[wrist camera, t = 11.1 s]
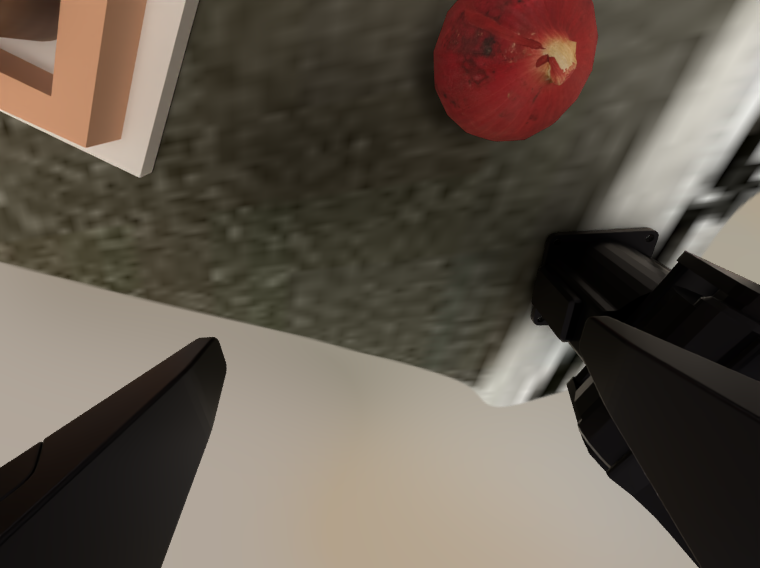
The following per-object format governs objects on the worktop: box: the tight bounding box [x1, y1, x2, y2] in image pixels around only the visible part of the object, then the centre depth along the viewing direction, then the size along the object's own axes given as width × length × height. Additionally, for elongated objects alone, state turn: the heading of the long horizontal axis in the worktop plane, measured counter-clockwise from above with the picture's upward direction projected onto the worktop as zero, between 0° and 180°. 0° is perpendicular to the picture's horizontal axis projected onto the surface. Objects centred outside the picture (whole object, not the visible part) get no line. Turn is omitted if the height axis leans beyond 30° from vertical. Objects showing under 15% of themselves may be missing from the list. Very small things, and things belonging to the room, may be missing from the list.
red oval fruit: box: [434, 0, 598, 141], centre depth 14 cm, size 6×6×8 cm
